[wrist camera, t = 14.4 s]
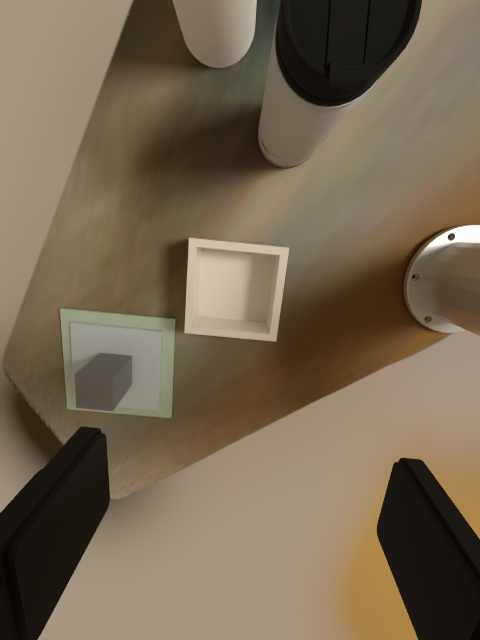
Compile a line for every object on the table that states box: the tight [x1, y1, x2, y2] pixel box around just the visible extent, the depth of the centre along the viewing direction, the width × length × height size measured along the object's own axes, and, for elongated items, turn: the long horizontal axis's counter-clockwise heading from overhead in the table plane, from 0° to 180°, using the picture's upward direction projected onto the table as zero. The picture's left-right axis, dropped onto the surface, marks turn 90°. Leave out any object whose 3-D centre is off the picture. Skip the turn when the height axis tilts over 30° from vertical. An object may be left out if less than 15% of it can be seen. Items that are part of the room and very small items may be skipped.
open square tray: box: [184, 237, 289, 342], centre depth 34 cm, size 10×10×5 cm
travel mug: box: [258, 0, 422, 168], centre depth 22 cm, size 6×7×20 cm
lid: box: [70, 321, 163, 411], centre depth 36 cm, size 11×11×7 cm
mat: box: [60, 308, 176, 418], centre depth 39 cm, size 14×14×1 cm
